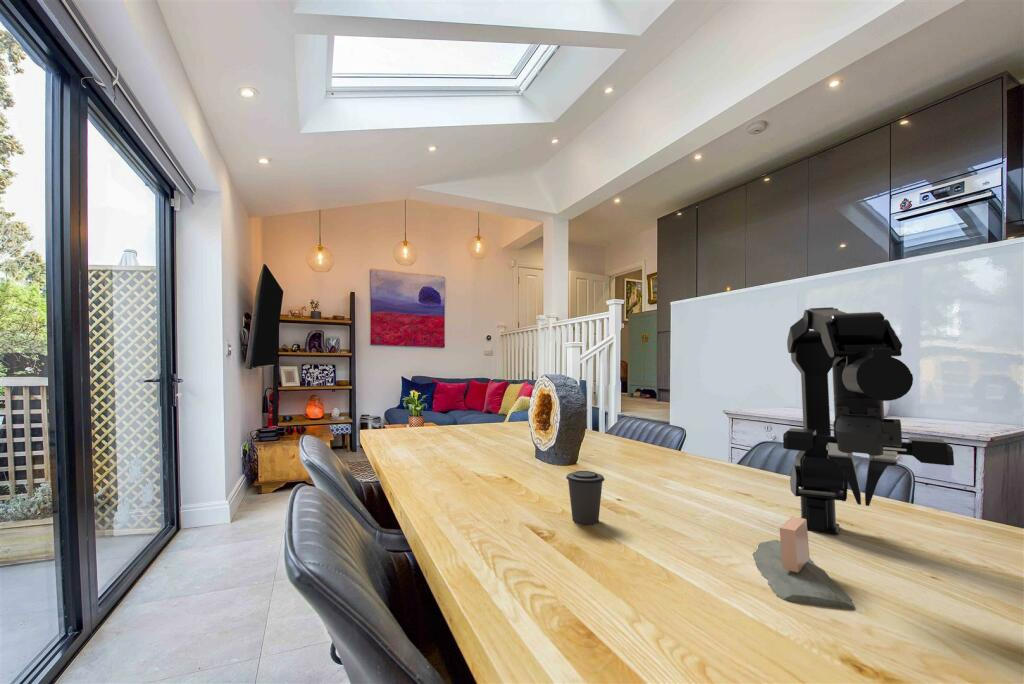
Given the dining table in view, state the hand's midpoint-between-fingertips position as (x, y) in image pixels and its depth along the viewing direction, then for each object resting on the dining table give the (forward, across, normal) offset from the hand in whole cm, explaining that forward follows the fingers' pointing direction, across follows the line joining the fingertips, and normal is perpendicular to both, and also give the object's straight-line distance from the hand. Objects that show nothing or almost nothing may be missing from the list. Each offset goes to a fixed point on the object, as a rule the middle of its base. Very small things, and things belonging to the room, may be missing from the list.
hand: (863, 504), depth 62 cm
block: (+10, -8, -1) cm, 13 cm away
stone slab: (+13, -10, +1) cm, 16 cm away
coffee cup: (+12, -46, -1) cm, 47 cm away
